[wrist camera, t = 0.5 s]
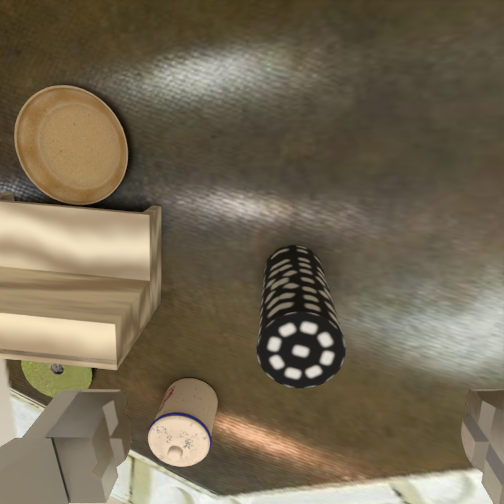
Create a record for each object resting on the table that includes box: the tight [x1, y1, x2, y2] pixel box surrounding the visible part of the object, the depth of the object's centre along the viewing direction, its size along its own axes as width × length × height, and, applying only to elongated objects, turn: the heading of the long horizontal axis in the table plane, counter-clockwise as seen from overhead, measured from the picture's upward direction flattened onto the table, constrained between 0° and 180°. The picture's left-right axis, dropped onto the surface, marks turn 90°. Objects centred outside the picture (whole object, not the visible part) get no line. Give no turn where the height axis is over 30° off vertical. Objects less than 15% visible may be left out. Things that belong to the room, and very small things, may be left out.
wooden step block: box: [0, 192, 161, 370], centre depth 49 cm, size 14×22×17 cm, turn 86°
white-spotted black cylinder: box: [257, 245, 346, 388], centre depth 47 cm, size 8×8×20 cm
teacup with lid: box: [148, 378, 218, 466], centre depth 59 cm, size 12×9×12 cm
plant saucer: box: [14, 85, 128, 205], centre depth 51 cm, size 15×15×3 cm
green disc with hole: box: [21, 360, 92, 398], centre depth 63 cm, size 11×11×2 cm
